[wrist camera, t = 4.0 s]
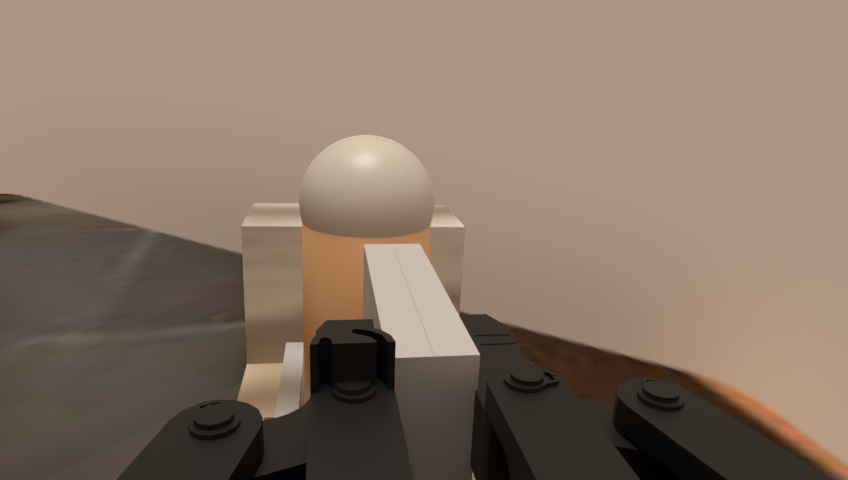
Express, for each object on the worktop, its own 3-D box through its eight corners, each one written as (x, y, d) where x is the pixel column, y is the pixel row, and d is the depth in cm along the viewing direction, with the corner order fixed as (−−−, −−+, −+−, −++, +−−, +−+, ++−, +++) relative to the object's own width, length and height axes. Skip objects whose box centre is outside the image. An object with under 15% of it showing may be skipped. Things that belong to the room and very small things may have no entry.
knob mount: (534, 578, 22) (563, 342, 19) (191, 611, 20) (170, 353, 17) (438, 339, 41) (446, 205, 38) (258, 344, 39) (254, 203, 36)
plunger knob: (430, 483, 24) (449, 145, 20) (299, 492, 23) (294, 141, 19) (413, 412, 29) (425, 130, 25) (304, 417, 28) (301, 126, 24)
